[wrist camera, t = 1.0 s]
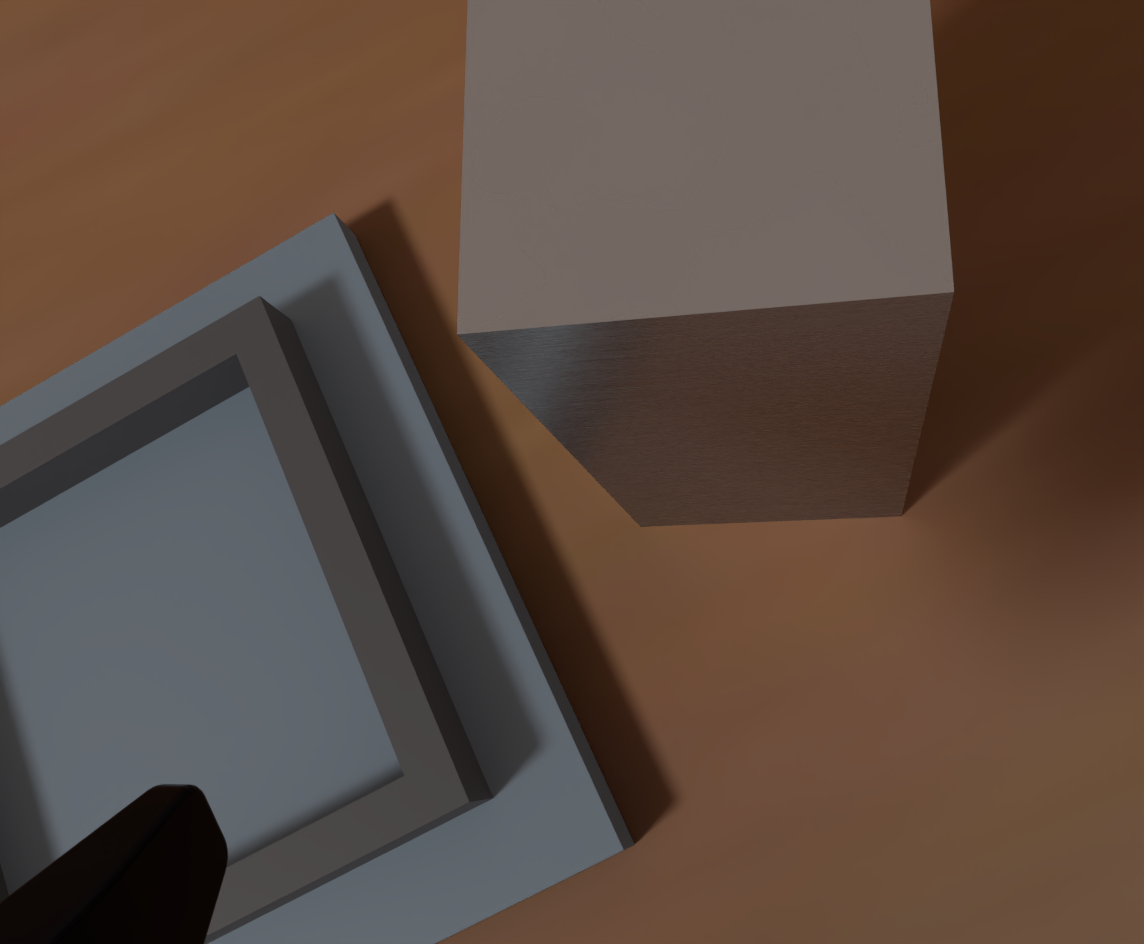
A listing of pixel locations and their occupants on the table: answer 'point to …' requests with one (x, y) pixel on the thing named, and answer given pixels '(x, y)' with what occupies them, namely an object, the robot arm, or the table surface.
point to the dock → (280, 621)
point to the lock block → (711, 245)
